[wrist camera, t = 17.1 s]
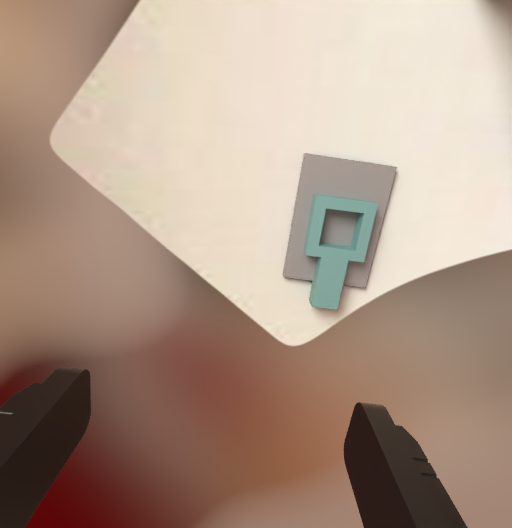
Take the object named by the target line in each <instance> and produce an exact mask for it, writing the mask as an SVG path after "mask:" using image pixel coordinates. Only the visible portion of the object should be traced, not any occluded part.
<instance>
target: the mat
mask: <svg viewBox="0 0 512 528" xmlns="http://www.w3.org/2000/svg"><path fill="white" fill-rule="evenodd" d="M396 169H397V167H393V166H387V165H380V164H373V163H367V162H360V161H353V160H347V159H340V158H333V157H327V156H320V155H313V154H307V153H304V157H303V163H302V169H301V174H300V180H299V186H298V191H297V197H296V203H295V208H294V214H293V220H292V225H291V231H290V237H289V242H288V248H287V254H286V260H285V265H284V271H283V277H288V278H295V279H303V280H310V281H313V276H314V271H315V266H316V261H317V257H316V256H308V255H305V253H304V251H303V249H304V243H305V238H306V232H307V227H308V221H309V215H310V210H311V204H312V199H313V194H320V195H327V196H335V197H343V198H350V199H358V200H366V201H372V202H375V203H378V206H377V210H376V214H375V218H374V223H373V227H372V231H371V235H370V239H369V243H368V247H367V252H366V256H365V260H364V262H356V261H348V264H347V269H346V273H345V278H344V282H343V285H348V286H355V287H363V288H365V287H366V283H367V280H368V276H369V272H370V268H371V264H372V260H373V257H374V253H375V249H376V245H377V241H378V238H379V234H380V230H381V226H382V222H383V219H384V215H385V211H386V207H387V203H388V199H389V196H390V192H391V188H392V184H393V180H394V177H395V173H396ZM357 214H358V212H350V211H342V210H335V209H327V208H326V210H325V216H324V221H323V226H322V231H321V236H320V242H321V243H329V244H337V245H345V246H351V241H352V237H353V232H354V228H355V223H356V219H357Z"/></svg>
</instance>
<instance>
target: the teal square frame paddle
mask: <svg viewBox="0 0 512 528" xmlns="http://www.w3.org/2000/svg"><path fill="white" fill-rule="evenodd" d="M377 206H378V203H375V202H372V201H366V200H358V199H350V198H343V197H335V196H327V195H320V194H313V199H312V204H311V210H310V215H309V221H308V227H307V232H306V238H305V243H304V249H303V251H304V253H305V255H308V256H316V257H317V261H316V266H315V271H314V276H313V282H312V287H311V292H310V297H309V301H310V303H311V306H312V307H318V308H327V309H336V310H337V309H338V304H339V300H340V295H341V291H342V287H343V282H344V278H345V273H346V269H347V264H348V261H356V262H364V260H365V256H366V252H367V247H368V243H369V239H370V235H371V231H372V227H373V223H374V218H375V214H376V210H377ZM326 208H327V209H335V210H342V211H350V212H358V214H357V219H356V223H355V228H354V232H353V237H352V241H351V246H345V245H337V244H329V243H321V242H320V236H321V231H322V226H323V221H324V216H325V210H326Z"/></svg>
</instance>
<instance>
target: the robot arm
mask: <svg viewBox="0 0 512 528" xmlns="http://www.w3.org/2000/svg"><path fill="white" fill-rule="evenodd" d="M90 396H91V394H90V373H89V371H88V370H86V369H77V368H69V367H59V368H57V369H56V370H55V371H54V372H53V373H52V374H51V375H50V376H49V377H48V378H47V379H46V380H45V381H44V382H43V383H42V384H40V383H34V384H32V385H30V386H28V387H27V388H25V389H23V390H21V391H20V392H18V393H16V394H14V395H13V396H12V397H11V398H10V399H9V400H8V401H7V402H6V403H5V404H4V405H3V406H1V408H0V528H24V527H25V526H26V524H27V523H28V521H29V520H30V518H31V516H32V515H33V513H34V512H35V510H36V509H37V507H38V506H39V504H40V502H41V501H42V499H43V498H44V496H45V495H46V493H47V491H48V490H49V488H50V487H51V485H52V484H53V482H54V481H55V479H56V477H57V476H58V474H59V473H60V471H61V469H62V468H63V466H64V465H65V463H66V462H67V460H68V459H69V457H70V455H71V454H72V452H73V451H74V449H75V448H76V446H77V445H78V443H79V441H80V440H81V438H82V437H83V435H84V433H85V431H86V429H87V426H88V423H89V420H90V415H91V400H90V399H91V398H90ZM344 460H345V465H346V469H347V472H348V475H349V479H350V482H351V485H352V489H353V492H354V495H355V498H356V502H357V505H358V509H359V512H360V516H361V519H362V522H363V526H364V528H467V526H466V524H465V523H464V521H463V519H462V518H461V516H460V514H459V512H458V511H457V509H456V507H455V505H454V504H453V502H452V500H451V499H450V497H449V495H448V494H447V492H446V490H445V488H444V487H443V485H442V483H441V482H440V480H439V479H438V478H437V477H436V473H435V471H434V470H433V468H432V466H431V464H430V463H428V461H427V460H428V459H427V458H426V456H425V454H424V452H423V451H422V449H421V447H420V445H419V444H418V442H417V441H416V440H415V439H414V438H413V437H412V436H411V435H410V434H409V433H408V432H407V431H406V430H405V429H404V428H403V427H402V426H396V425H395V424H394V422H393V420H392V419H391V417H390V415H389V413H388V411H387V409H386V408H385V407H384V406H382V405H376V404H367V403H357V404H356V405H355V407H354V410H353V414H352V417H351V421H350V425H349V428H348V432H347V435H346V438H345V442H344Z"/></svg>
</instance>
